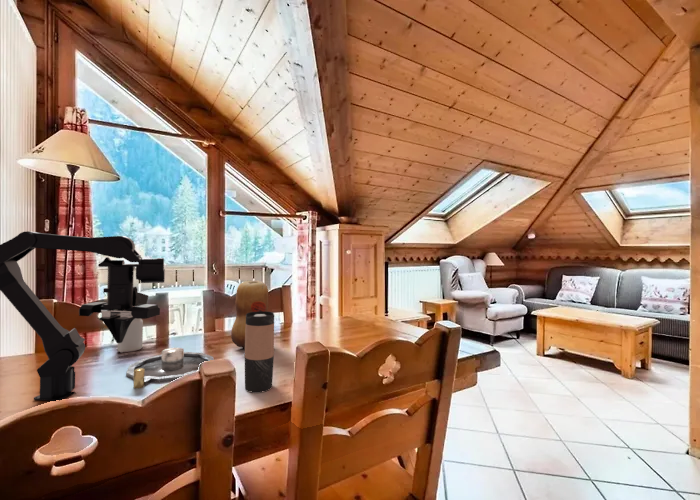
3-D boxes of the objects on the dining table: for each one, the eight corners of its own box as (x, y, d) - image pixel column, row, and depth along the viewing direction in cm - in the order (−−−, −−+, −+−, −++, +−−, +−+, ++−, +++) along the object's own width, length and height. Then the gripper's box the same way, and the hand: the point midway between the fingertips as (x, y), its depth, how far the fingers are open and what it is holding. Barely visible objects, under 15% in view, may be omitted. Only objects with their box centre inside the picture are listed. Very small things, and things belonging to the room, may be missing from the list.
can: (130, 354, 119) (131, 319, 119) (111, 353, 120) (112, 318, 120) (147, 348, 126) (148, 315, 126) (129, 346, 128) (130, 314, 128)
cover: (176, 371, 103) (176, 354, 103) (156, 369, 103) (157, 353, 103) (187, 364, 109) (187, 348, 109) (169, 363, 109) (169, 347, 109)
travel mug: (275, 382, 99) (277, 311, 98) (270, 393, 91) (271, 317, 91) (248, 381, 99) (249, 310, 98) (240, 393, 91) (242, 316, 91)
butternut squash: (239, 356, 120) (241, 283, 120) (225, 346, 131) (227, 280, 130) (276, 349, 129) (277, 281, 129) (260, 341, 140) (261, 278, 139)
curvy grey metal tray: (178, 393, 89) (179, 374, 89) (93, 388, 91) (93, 369, 91) (226, 358, 117) (226, 343, 117) (160, 355, 119) (160, 340, 119)
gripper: (172, 281, 99) (171, 336, 100) (110, 279, 101) (109, 333, 101) (146, 286, 88) (145, 347, 88) (77, 283, 90) (76, 344, 90)
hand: (119, 342), depth 92 cm, fingers closed
